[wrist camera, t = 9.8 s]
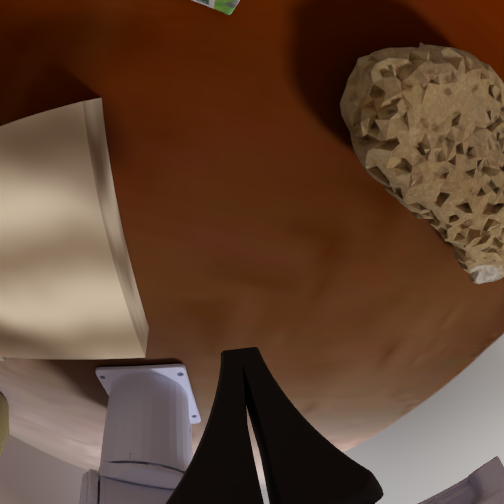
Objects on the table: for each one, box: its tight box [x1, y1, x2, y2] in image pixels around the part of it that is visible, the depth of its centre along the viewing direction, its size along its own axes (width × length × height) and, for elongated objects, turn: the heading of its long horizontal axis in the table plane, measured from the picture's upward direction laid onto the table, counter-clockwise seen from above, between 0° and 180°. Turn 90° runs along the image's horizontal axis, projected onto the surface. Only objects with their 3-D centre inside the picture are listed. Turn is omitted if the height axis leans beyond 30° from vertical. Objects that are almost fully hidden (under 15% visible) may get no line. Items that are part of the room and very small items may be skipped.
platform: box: [0, 98, 149, 359], centre depth 16 cm, size 16×13×3 cm
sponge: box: [340, 42, 504, 284], centre depth 16 cm, size 13×8×20 cm
